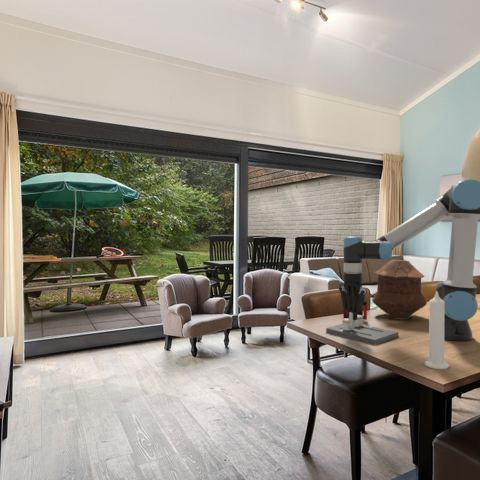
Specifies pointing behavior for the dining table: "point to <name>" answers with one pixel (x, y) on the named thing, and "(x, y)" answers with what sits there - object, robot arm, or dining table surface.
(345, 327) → the fader
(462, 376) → the dining table surface
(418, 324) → the dining table surface
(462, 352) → the dining table surface
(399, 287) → the pottery vessel
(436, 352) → the candle
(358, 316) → the fader
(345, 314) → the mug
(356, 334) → the console
